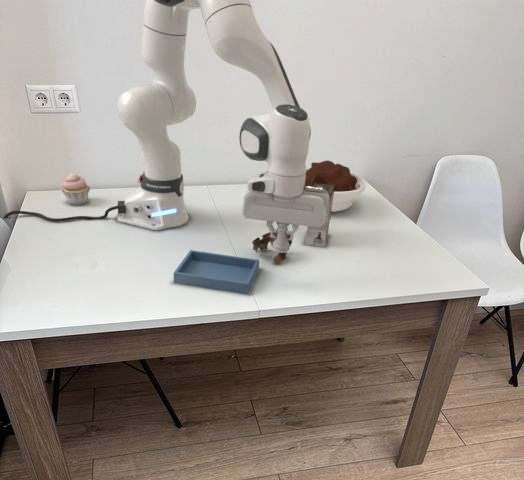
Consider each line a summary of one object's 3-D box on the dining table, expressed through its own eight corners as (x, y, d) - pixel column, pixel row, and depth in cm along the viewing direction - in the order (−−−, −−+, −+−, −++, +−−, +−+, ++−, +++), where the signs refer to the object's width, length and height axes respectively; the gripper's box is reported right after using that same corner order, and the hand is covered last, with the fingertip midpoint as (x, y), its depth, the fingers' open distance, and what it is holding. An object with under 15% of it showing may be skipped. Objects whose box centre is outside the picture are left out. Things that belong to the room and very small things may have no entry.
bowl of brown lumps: (374, 207, 176) (382, 164, 167) (334, 226, 160) (341, 180, 151) (318, 188, 188) (323, 147, 179) (276, 204, 173) (279, 161, 164)
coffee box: (308, 232, 156) (314, 182, 146) (328, 235, 155) (335, 184, 145) (304, 244, 148) (310, 192, 139) (325, 247, 148) (332, 195, 138)
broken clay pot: (269, 269, 136) (257, 242, 133) (255, 269, 144) (243, 243, 141) (303, 250, 139) (292, 223, 136) (287, 251, 148) (276, 226, 145)
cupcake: (87, 195, 170) (82, 166, 164) (95, 204, 164) (91, 174, 158) (60, 199, 166) (54, 169, 160) (67, 209, 160) (61, 178, 154)
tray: (174, 283, 126) (173, 272, 125) (190, 259, 137) (190, 249, 135) (247, 294, 124) (248, 284, 122) (258, 269, 134) (259, 259, 133)
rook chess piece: (280, 244, 127) (282, 214, 122) (293, 250, 124) (296, 220, 119) (268, 249, 124) (270, 219, 119) (281, 255, 122) (283, 225, 117)
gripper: (331, 184, 115) (323, 238, 124) (247, 174, 118) (245, 228, 126) (329, 193, 110) (321, 249, 119) (241, 182, 113) (239, 238, 121)
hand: (281, 238), depth 122 cm, fingers closed on rook chess piece, 3 cm apart
